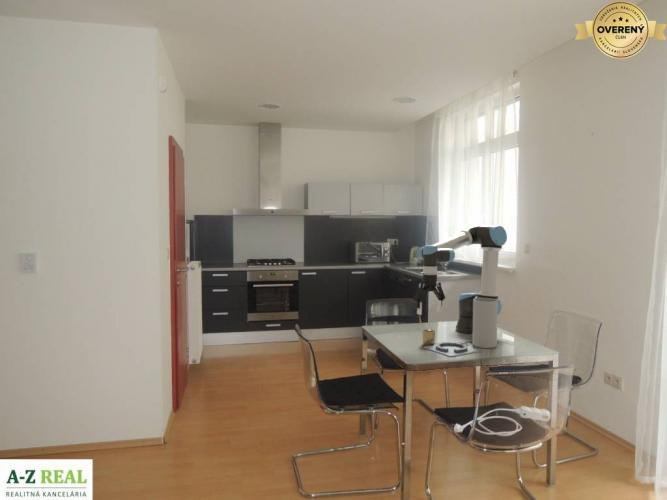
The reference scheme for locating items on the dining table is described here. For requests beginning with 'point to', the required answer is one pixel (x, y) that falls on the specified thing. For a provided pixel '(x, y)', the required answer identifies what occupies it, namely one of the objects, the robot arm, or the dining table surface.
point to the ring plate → (451, 350)
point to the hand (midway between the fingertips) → (429, 313)
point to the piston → (428, 337)
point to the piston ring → (461, 350)
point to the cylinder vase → (485, 322)
